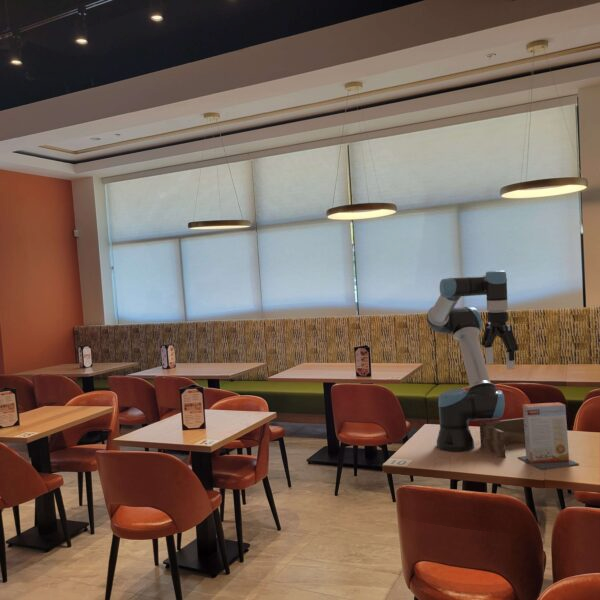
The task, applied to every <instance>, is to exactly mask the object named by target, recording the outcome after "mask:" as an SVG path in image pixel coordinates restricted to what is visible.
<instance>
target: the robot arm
mask: <svg viewBox="0 0 600 600" xmlns="http://www.w3.org/2000/svg"><path fill="white" fill-rule="evenodd" d="M507 278H508V277H507V271H505V270H490V271H489V270H488V271H486V273H485V275H479V276H466V277H464V276H463V277H447V278H443V279H441V280H440V281H439V293H440V295H439V297H438V298H437V300H436V302H435V304H434V305H433V306H432V307H430V308H429V309H428V311H427V313H426V315H425V316H426V323H427V325H428V326H429V328H430V329H432V330H433V331H434V332H436V333H439V334H443V335H445V334H447V335H449V334H452V335H453V339H454V340H456V341H458V345H459V348H460V352H461V355H462V359H463V360H462V361H463V364H464V367H465V371H466V376H467V379H468V380H467V381H468V384H469V388H468V389H467V390H466V389H465V388H458V389H457V388H454V389H448V390H445V391H443V392H441V393H440V394H439V395H438V405H437V406H438V415H439V431H438V435H437V438H436V448H438V449H439V448H440V449H439V450H442V451H446V450H448V451H447V452H465V450H466V451H469V450H472V449H474V448H475V441H474V437H473V435H472V433H471V431H470V427H469V426H470V425H469V422H470V421H484V420H485V421H486V420H487V421H488V420H490V421H491V420H492V421H493V420H495V419H500V418H501V417H502V416H503V415H504V411H505V395H504V393H503V391H502V390H500V389H497V386H496V384H494V383H493V382H491V379H490V375H489V373H488V368H487V366H486V365H493V364H494V349H493V348H494V347H493V344H494V342H495V339H496V338H497V337H499V338H500V339H501V341H502V342H503V345H504V346H505V349H506V351H505V356H506V360H505V361H506V370H509V371H510V370H515V352H518V351H519V346H518V344H517V341H516V338H515V335H514V332H513V325H512V324H507V322H508V321H509V312H508V310H509V309H508V307H509V306H508V279H507ZM470 296H471V297H473V296H486V311H488V312H487V314H486V319H487V322H485V323H484V332H483V335H482V340H481V344H480V340H479V337H478V336H479V335H480V332H481V331H482V328H483V323H482V322H483V321H482V315H481V314H480V312H479V310H478V309H477V308H476V307H472V306H464V307H456V306H457V303H458V302H459V300H460V299H461V297H470ZM482 346H484V348H485V349H484V350H485V358H484V355H483V351H482Z"/></svg>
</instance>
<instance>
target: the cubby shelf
mask: <svg viewBox="0 0 600 600" xmlns="http://www.w3.org/2000/svg"><path fill="white" fill-rule="evenodd" d="M479 435H480V436H479V438H480V447H481V448H482V447H483V448H482V449H485V450H486V451H488V452H490V453H491V454H494V455H496V456H497V457H500V458H501V459H504V458H506V455H507V454H506V446H507V445H509V446H510V445H517V444H525V432H524V418H523V417H519V418H511V419H510V418H509V419H501V420H492V421H491V420H490V421H483V422H479Z"/></svg>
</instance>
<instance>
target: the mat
mask: <svg viewBox="0 0 600 600" xmlns="http://www.w3.org/2000/svg"><path fill="white" fill-rule="evenodd" d="M517 459H519V460H521V461H523V462H525V463H527V464H529V465H531V466H533V467H534V468H537V469H538V470H540V471H542V470H544V471H545V470H551V468H552V469H558V468H557V467H560V468H566V466H567V467H573V465H575V466H579V465H580V463H578V462H576V461H573V460H571V459H569V461H554V462H535V463H531V462H530V461H529V460H528V459H526V455H523V456H522V455H521V456H518V457H517Z"/></svg>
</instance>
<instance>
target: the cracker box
mask: <svg viewBox="0 0 600 600" xmlns="http://www.w3.org/2000/svg"><path fill="white" fill-rule="evenodd" d="M522 413H523V414H522V415H523V416H522V418H524V432H525V443H524V445H525V456H526V459H528V460H529V461H530V462H531V463H535V462H554V461H569V460H570V455H569V454H570V453H569V438H568V424H567V410H566V404H564V403H562V402H543V403H541V402H540V403H527V404H525V403H524V404H522Z"/></svg>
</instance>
